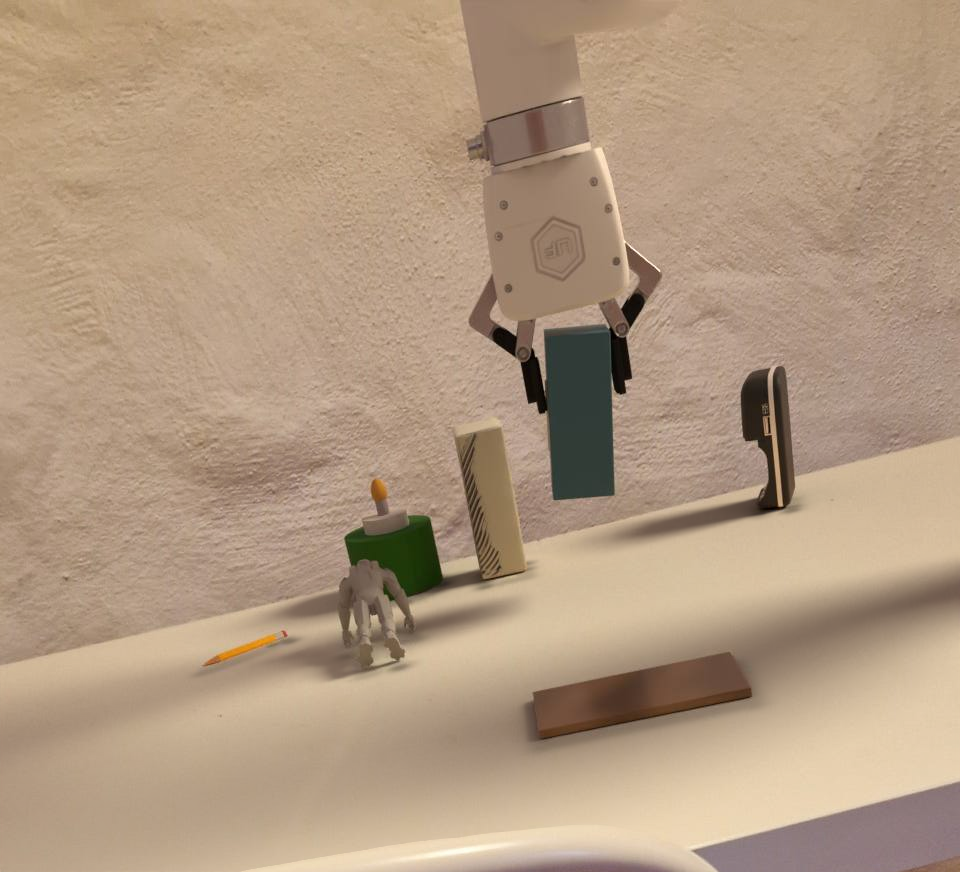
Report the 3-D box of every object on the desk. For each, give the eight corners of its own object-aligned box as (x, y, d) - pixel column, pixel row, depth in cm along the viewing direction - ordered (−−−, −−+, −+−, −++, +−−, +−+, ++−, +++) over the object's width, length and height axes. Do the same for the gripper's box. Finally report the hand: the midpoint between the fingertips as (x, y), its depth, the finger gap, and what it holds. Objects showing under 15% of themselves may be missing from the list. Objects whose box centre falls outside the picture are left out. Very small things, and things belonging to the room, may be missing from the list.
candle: (351, 590, 136) (324, 483, 131) (431, 567, 137) (408, 461, 132) (367, 607, 129) (340, 496, 124) (452, 583, 130) (428, 472, 125)
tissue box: (605, 323, 112) (541, 329, 112) (610, 331, 107) (543, 337, 107) (610, 481, 118) (549, 486, 119) (615, 495, 113) (551, 501, 114)
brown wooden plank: (731, 659, 97) (730, 650, 97) (752, 696, 90) (751, 687, 90) (533, 699, 99) (532, 691, 98) (539, 739, 92) (538, 730, 91)
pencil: (288, 638, 127) (286, 631, 127) (204, 670, 124) (202, 662, 123) (284, 637, 128) (282, 629, 127) (201, 668, 124) (198, 661, 124)
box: (479, 568, 133) (450, 426, 126) (524, 558, 133) (497, 415, 126) (483, 582, 129) (453, 435, 122) (529, 571, 128) (503, 423, 122)
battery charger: (756, 495, 135) (743, 368, 129) (796, 489, 134) (785, 360, 128) (748, 514, 130) (735, 382, 124) (790, 508, 128) (779, 374, 122)
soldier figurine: (427, 680, 115) (409, 595, 122) (414, 626, 111) (396, 542, 118) (352, 697, 115) (339, 612, 123) (337, 644, 111) (324, 559, 118)
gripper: (423, 170, 100) (477, 434, 110) (659, 108, 99) (694, 382, 108) (425, 170, 107) (476, 420, 116) (647, 112, 105) (681, 370, 114)
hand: (581, 399), depth 112 cm, fingers closed on tissue box, 5 cm apart
